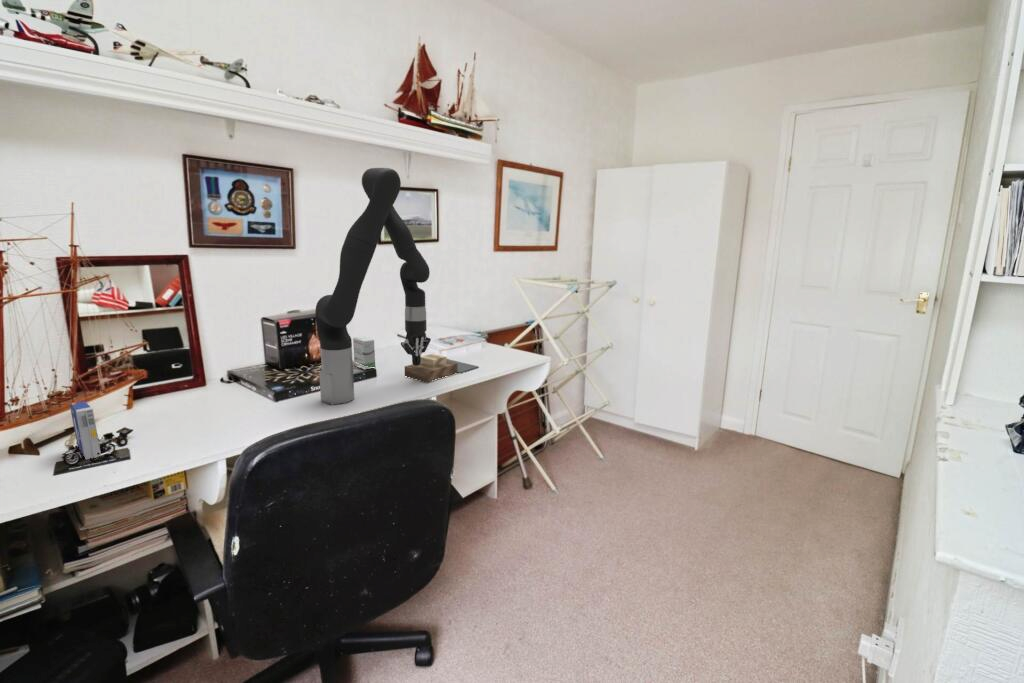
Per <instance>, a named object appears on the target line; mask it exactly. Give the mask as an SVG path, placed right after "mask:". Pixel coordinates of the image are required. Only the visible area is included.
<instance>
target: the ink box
mask: <svg viewBox="0 0 1024 683" xmlns="http://www.w3.org/2000/svg"><path fill="white" fill-rule="evenodd" d="M352 344H353V345H352V348H353V363H354V362H357V363H359V364H362V365H364V366H368V367H375V368H376V353H375V352H376V351H375V339H372V338H369V337H366V336H359V337H358V336H357V337H353V338H352Z"/></svg>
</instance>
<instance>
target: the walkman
mask: <svg viewBox="0 0 1024 683" xmlns="http://www.w3.org/2000/svg"><path fill="white" fill-rule="evenodd" d="M69 408H70V414H71V418H72V424H73V429H74V435H75V436H74V437H75V440H76V445H78V446H77V448H78V447H79V449H80V450H81V452H82V454H83V455H82V454H81V455H82V457H83V456H84V457H85V458H84V457H83V458H84V459H85V461H86V460H90V458H91V459H95V458H99V456H100V457H102V453H101V448H100V442H99V437H98V436H99V435H98V430H97V424H96V420H95V413H94V409H93V408H92V407H91V406H90V405H89V403H88V402H86V401H78V402H71V403H70V404H69ZM93 457H94V458H93Z"/></svg>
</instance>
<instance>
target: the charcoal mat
mask: <svg viewBox="0 0 1024 683" xmlns="http://www.w3.org/2000/svg"><path fill="white" fill-rule="evenodd" d="M447 361H449V362H453V363H457V364H458V374H459V373H461V374H464V373H463V372H465V373H467V371H468V372H470V370H471V371H473V370H477V369H479V368H480V367H479V365H478V366H477V365H473V364H469V363H466V362H461V361H457V360H453V359H448V358H447Z"/></svg>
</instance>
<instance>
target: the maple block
mask: <svg viewBox="0 0 1024 683" xmlns="http://www.w3.org/2000/svg"><path fill="white" fill-rule="evenodd" d="M447 359H448V357H447V356H445V355H441V354H436V353H430V354H427V355H423V356H422V355H421V362H420V365H423V366H427V367H431V368H435V367H439V366H442V365H446V364H447Z"/></svg>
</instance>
